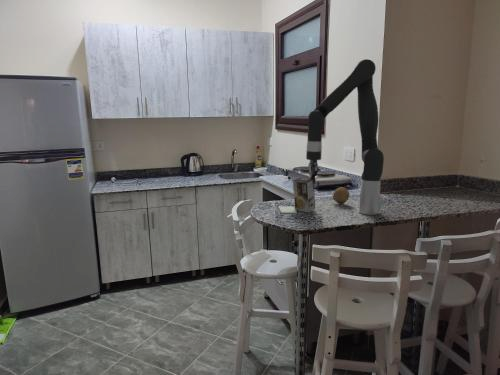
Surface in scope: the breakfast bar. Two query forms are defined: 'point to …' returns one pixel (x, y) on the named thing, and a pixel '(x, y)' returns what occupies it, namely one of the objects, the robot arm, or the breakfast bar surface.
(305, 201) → the coffee box
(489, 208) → the breakfast bar surface
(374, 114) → the robot arm
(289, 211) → the mat
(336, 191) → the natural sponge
